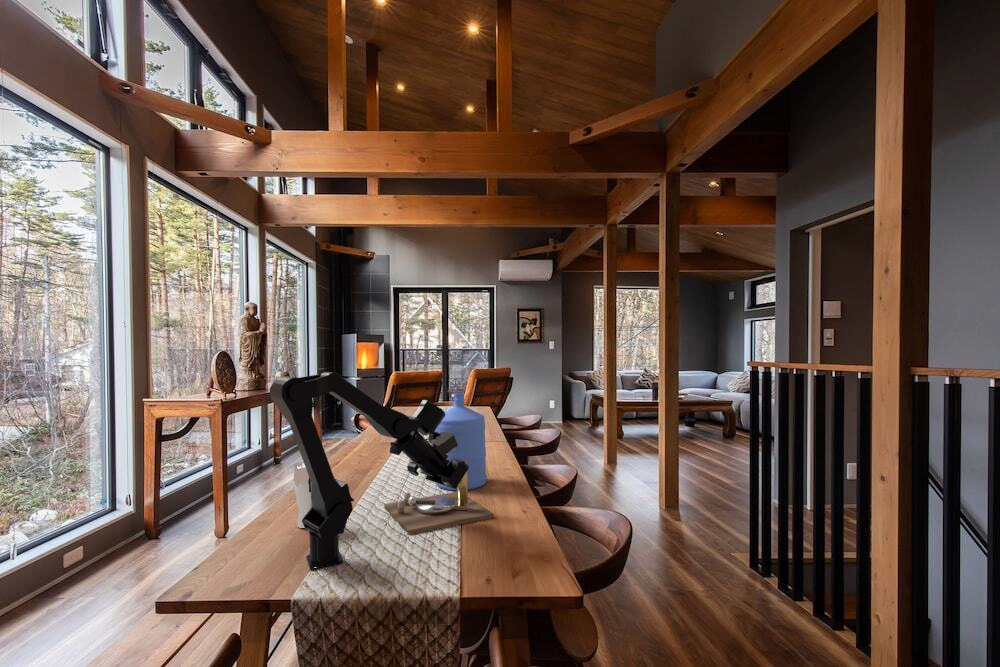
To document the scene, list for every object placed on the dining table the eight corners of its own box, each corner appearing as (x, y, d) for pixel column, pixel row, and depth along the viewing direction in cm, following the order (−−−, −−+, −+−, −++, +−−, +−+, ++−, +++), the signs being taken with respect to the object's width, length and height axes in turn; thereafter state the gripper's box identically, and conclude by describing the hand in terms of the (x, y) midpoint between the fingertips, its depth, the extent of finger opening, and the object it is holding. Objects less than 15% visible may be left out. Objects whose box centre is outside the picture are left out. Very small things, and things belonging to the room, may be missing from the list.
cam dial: (401, 513, 131) (400, 465, 131) (414, 500, 141) (413, 456, 141) (463, 515, 129) (462, 466, 129) (472, 502, 139) (471, 457, 139)
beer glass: (315, 530, 124) (313, 468, 124) (288, 529, 126) (287, 467, 126) (330, 520, 131) (328, 460, 131) (305, 519, 133) (303, 460, 133)
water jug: (485, 490, 153) (483, 395, 153) (432, 492, 153) (430, 397, 153) (487, 476, 169) (485, 390, 169) (439, 477, 169) (437, 391, 169)
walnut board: (493, 517, 130) (493, 501, 130) (408, 534, 120) (407, 517, 120) (459, 494, 150) (459, 480, 150) (384, 507, 140) (383, 492, 140)
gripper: (461, 427, 121) (497, 466, 128) (416, 419, 134) (451, 455, 142) (434, 467, 115) (473, 506, 122) (390, 454, 129) (427, 490, 136)
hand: (456, 487), depth 131 cm, fingers closed
